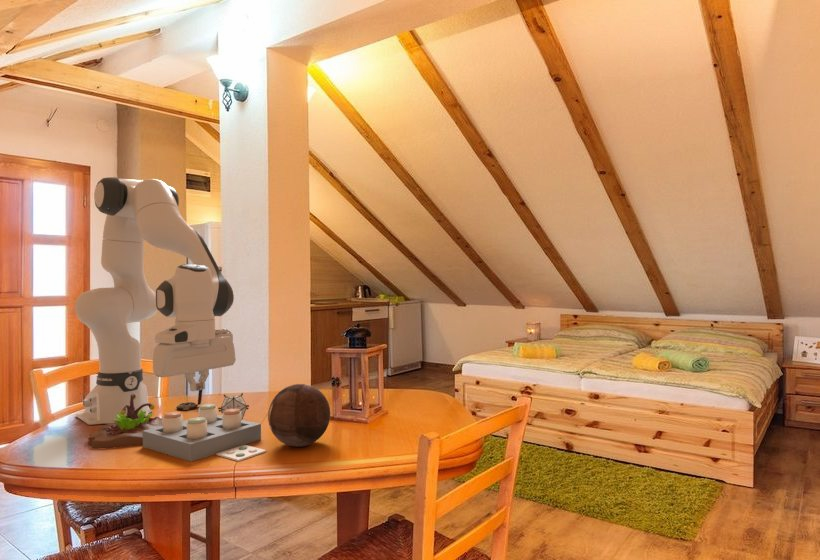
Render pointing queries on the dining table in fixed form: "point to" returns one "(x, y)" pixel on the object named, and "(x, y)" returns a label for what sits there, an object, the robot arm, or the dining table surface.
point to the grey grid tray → (201, 440)
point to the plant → (125, 428)
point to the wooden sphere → (299, 415)
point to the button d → (231, 419)
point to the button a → (172, 422)
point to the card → (241, 452)
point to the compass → (190, 403)
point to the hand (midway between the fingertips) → (197, 390)
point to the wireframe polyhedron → (234, 404)
